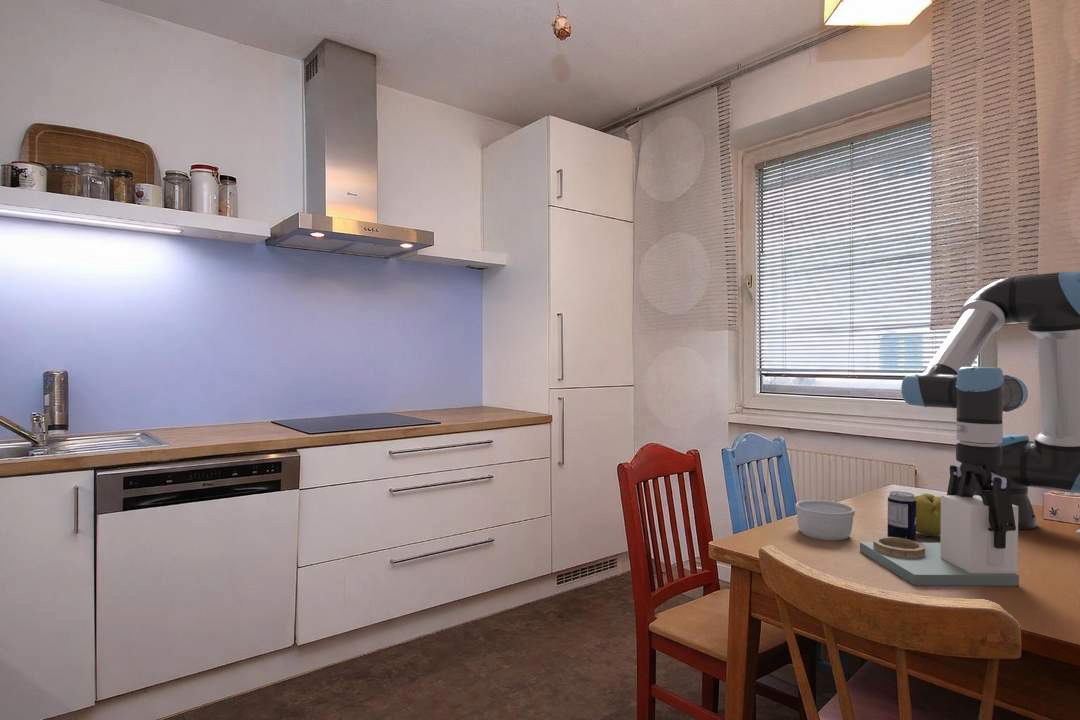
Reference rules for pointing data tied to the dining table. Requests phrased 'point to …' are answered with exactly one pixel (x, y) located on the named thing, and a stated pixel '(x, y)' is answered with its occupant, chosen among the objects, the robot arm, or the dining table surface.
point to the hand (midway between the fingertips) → (977, 555)
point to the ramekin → (825, 519)
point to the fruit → (928, 515)
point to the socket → (915, 552)
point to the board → (935, 568)
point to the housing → (973, 536)
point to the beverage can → (902, 515)
